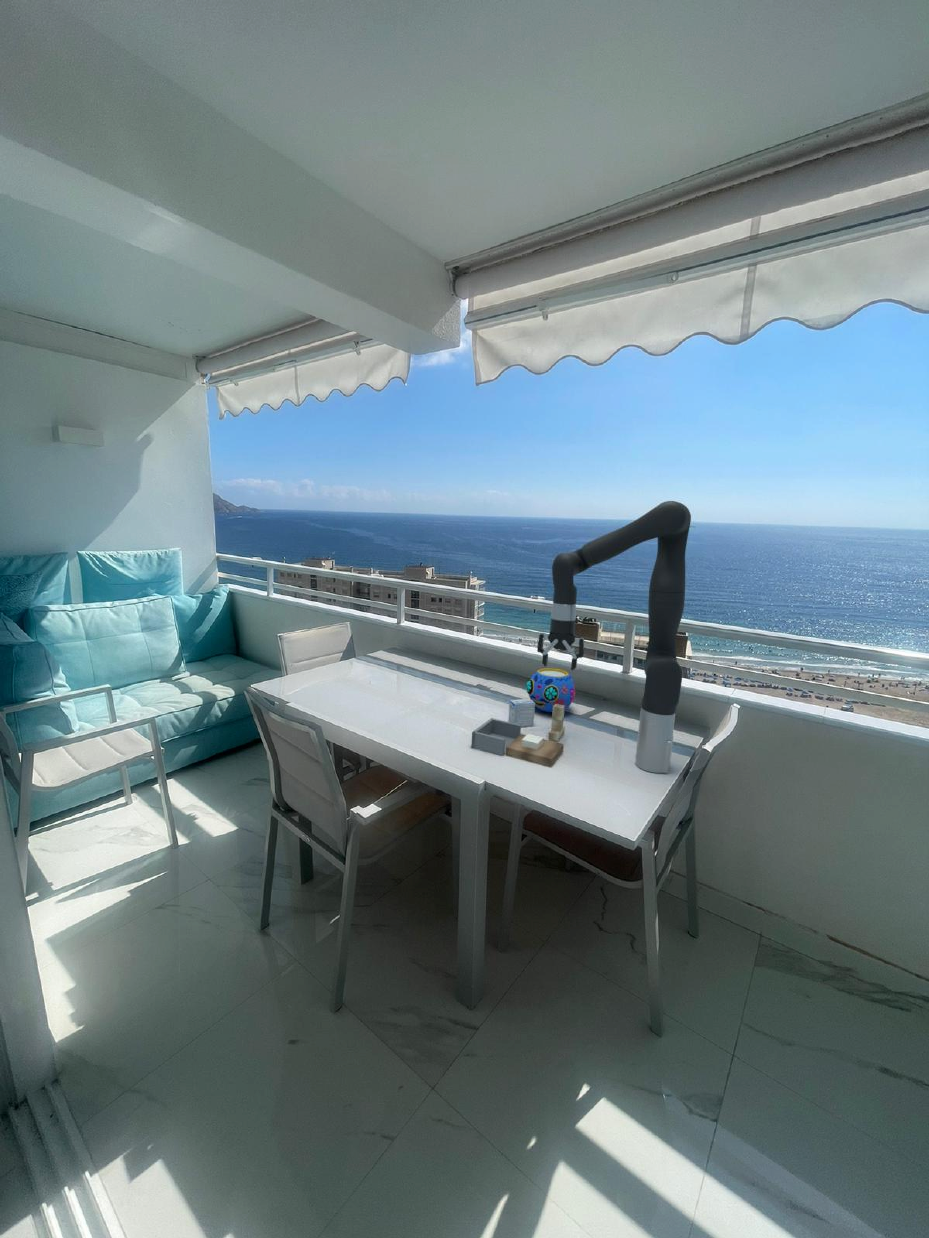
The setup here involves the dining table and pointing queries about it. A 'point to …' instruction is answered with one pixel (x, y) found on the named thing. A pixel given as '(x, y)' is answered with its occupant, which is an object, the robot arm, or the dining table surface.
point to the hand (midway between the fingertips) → (559, 667)
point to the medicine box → (521, 712)
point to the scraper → (557, 723)
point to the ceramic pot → (551, 689)
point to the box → (495, 736)
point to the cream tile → (532, 741)
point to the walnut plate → (535, 751)
